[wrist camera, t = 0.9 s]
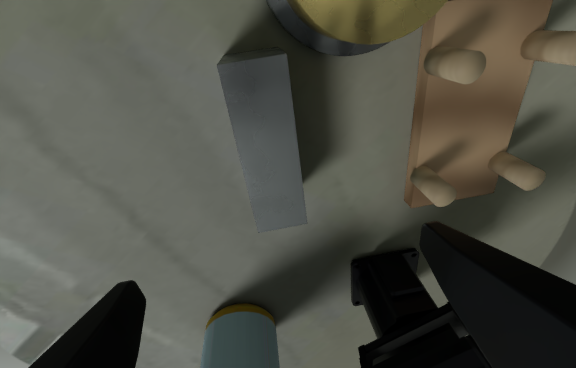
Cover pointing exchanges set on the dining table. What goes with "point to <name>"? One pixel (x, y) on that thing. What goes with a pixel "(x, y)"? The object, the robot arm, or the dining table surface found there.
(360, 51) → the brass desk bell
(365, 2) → the brass disc with block
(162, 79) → the dining table surface
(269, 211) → the long grey slab
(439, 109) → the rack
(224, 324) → the bottle
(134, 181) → the dining table surface
